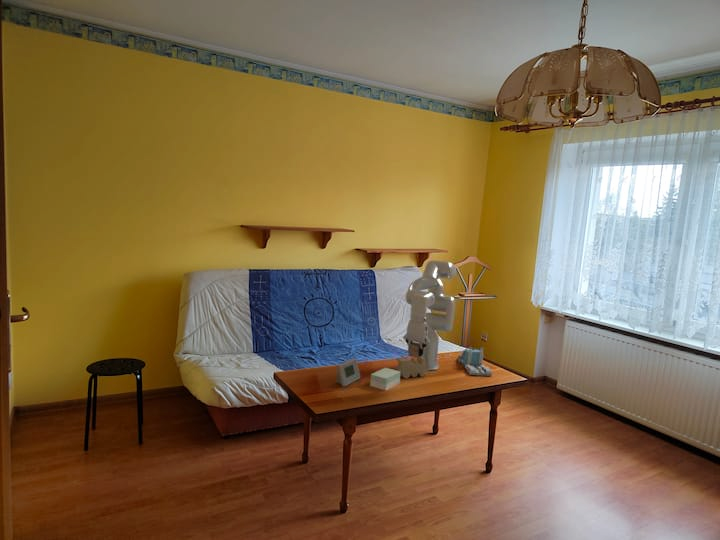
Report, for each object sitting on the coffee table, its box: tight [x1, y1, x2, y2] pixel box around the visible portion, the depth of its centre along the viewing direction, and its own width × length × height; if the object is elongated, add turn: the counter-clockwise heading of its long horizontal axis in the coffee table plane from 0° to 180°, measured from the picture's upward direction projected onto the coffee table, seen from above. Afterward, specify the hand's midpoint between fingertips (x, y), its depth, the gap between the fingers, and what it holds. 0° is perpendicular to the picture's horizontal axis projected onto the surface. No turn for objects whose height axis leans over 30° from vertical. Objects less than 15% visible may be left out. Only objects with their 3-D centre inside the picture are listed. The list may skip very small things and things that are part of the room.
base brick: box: [369, 367, 401, 391], centre depth 235 cm, size 14×9×6 cm, turn 146°
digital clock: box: [336, 357, 361, 388], centre depth 235 cm, size 16×9×11 cm, turn 138°
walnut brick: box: [408, 341, 420, 359], centre depth 230 cm, size 5×5×6 cm
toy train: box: [396, 356, 429, 379], centre depth 250 cm, size 6×17×10 cm, turn 113°
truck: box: [456, 344, 493, 377], centre depth 270 cm, size 12×29×15 cm, turn 4°
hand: (415, 354), depth 231 cm, fingers closed on walnut brick, 5 cm apart
